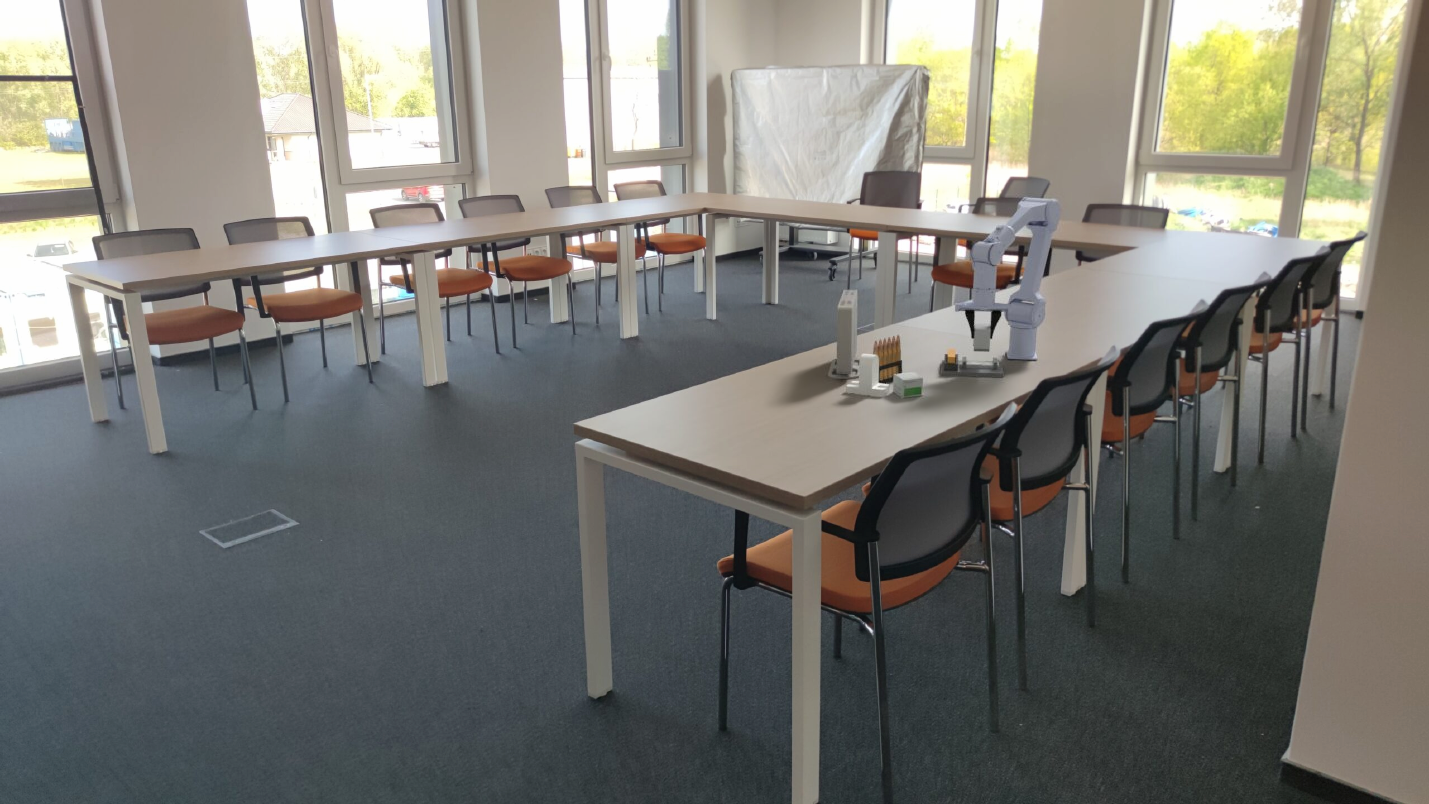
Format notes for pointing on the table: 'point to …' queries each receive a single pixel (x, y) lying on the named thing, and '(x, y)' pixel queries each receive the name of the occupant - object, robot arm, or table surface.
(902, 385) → the small box
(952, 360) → the locking tab
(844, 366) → the network device
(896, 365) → the ammunition clip
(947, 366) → the gray slotted fixture
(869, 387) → the cable organizer
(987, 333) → the block
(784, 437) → the table surface
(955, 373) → the mounting board
